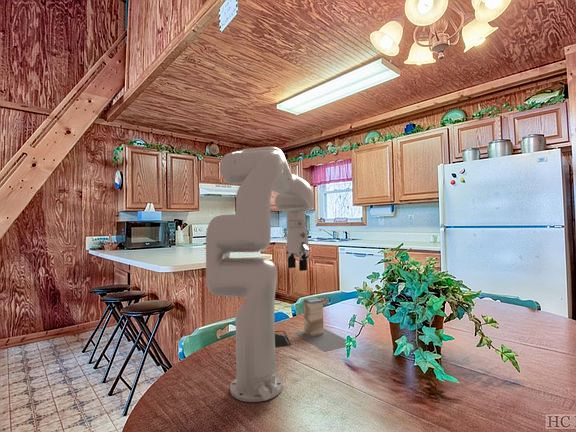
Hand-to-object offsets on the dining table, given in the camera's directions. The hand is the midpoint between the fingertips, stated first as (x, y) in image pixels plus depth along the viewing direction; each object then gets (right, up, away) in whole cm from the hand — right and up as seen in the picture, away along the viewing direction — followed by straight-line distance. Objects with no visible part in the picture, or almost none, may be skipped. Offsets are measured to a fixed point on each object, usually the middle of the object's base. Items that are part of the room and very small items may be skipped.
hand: (297, 269), depth 124 cm
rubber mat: (+8, -22, -16) cm, 28 cm away
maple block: (+6, -21, -10) cm, 24 cm away
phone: (-8, -23, -15) cm, 28 cm away
